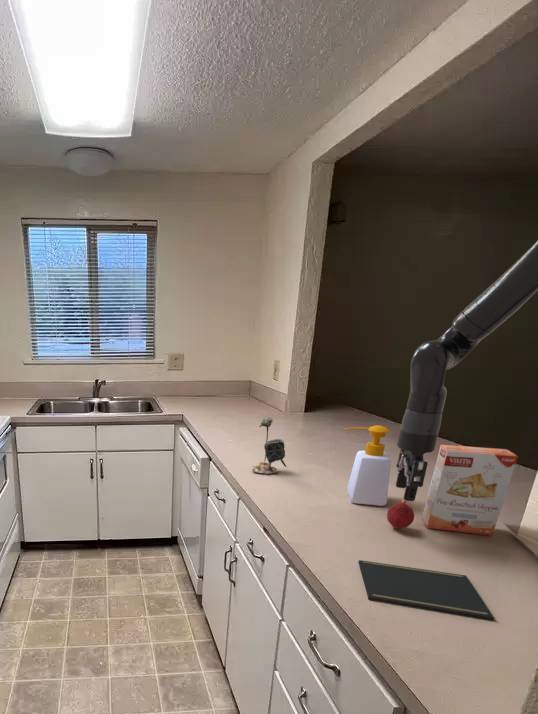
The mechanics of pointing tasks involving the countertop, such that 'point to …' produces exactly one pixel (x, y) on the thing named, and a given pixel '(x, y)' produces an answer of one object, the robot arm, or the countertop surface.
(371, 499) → the soap bottle
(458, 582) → the placemat
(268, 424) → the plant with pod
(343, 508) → the countertop surface
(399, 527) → the onion
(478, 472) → the cracker box
